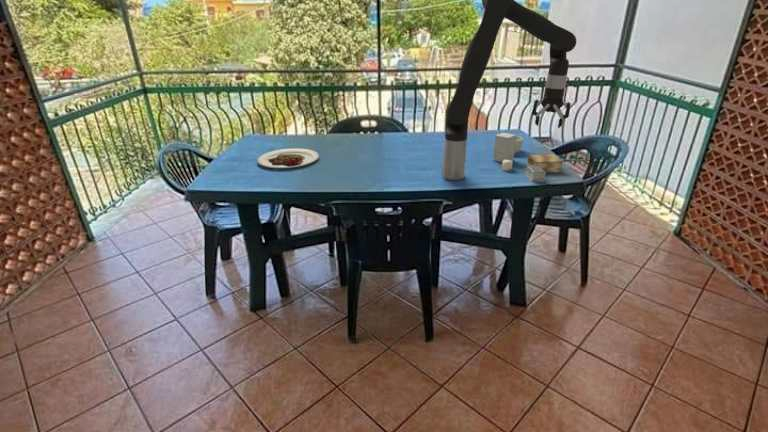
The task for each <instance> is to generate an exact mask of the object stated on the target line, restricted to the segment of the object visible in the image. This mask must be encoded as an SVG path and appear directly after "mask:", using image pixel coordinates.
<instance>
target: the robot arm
mask: <svg viewBox="0 0 768 432" xmlns="http://www.w3.org/2000/svg"><path fill="white" fill-rule="evenodd" d="M481 5H482V7H483V9H484V12H483V15H482V19H481V22H480V24H479V26H478V29H477V30H476V32H475V34H474V35H473V37H472V39H471V40H470V42H469V44H468V47H467V49H466V51H465V54H464V57H463V61H462V64H461V68H460V72H459V75H458V76H459V78H458V82H457V87H456V90H455V93H454V95H453V96H452V100H451V101H449V102H448V104H447V106H446V109H445V111H446V112H445V126H444V127H445V128H444V129H445V132H444V151H443V154H442V171H441V173H442V174H441V175H442V177H443V179H444V180H449V181H460V180H462V179H464V178H465V169H466V157H467V144H468V143H467V142H468V127H469V126H468V123H469V117H470V112H471V109H472V108H471V107H472V104H473V101H474V100H473V99H474V97H475V94H476V91H477V88H478V86H480V83H481V80H482V78H483V75H484V73H485V71H486V69H487V66H488V64H489V63H488V62H489V60H490V58H491V54H492V51H493V49H494V45H495V43H496V40H497V37H498V35H499V34H498V33H499V30H500V29H501V26H502V24H503V22H504V19H506V20H508V21H510V22H513V23H514V24H515V25H517V26H518V27H520V28H521V29H522V30H524V31H525V32H527V33H528V34H530V35H532V36H533V37H535V38H537V39H538V40H540V41H542V42H545V43H548V44H549V67H548V72H547V76H546V81H545V85H544V86H545V87H544V93H543V98H542V100H539V99H535V100H534V101H533V102H534V104H533V107H532V112H531V114H532V115H533V116H534V117H535V121H534V124H535V126H537V127H538V126H539V125H540V119H541V115H542V114H543V113H544V112H546V113H556V114H557V115H558V117H559V119H558V124H557V128H558V129H560V128H561V127H562V126H563V123H564V119H568V118H569V117H570V111H571V102H570V101H567V102H564V96H565V92H566V86H567V78H568V71H569V66H570V63H569V60H568V58H567V53H569V52H571V51H572V50H574V49H575V48H576V45H577V37H576V36H575V34H574V33H573V32H571V31H570V30H568V29H566V28H563V27H562V26H560V25H557V24H555V23H554V22H553V21H551V20H550V19H548V18H546V17H545V16H543V15H541V14H540V13H537V12H536V11H534V10H531V9H530V8H528V7H526V6H524V5H522V4H521V3H519V2H517V1H516V0H481ZM540 104H541V106H542V108H540V110H539V111H537V107H538V106H540ZM563 106H564V108H565V114H563V112H562V111H563V110H561V108H562V107H563Z"/></svg>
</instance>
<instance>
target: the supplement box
mask: <svg viewBox="0 0 768 432" xmlns="http://www.w3.org/2000/svg"><path fill="white" fill-rule="evenodd" d="M516 136H517V134H512V133H507V132H501V133H498V134H496V135H495V136H494V147H493V158H492V160H493V161H494V162H499V163H503V160H512V161H514V157H515V154H514V151H515V142H516Z"/></svg>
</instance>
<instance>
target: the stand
mask: <svg viewBox="0 0 768 432" xmlns="http://www.w3.org/2000/svg"><path fill="white" fill-rule="evenodd" d="M526 161H527V162H526V163H527V164H526V165H539V166H540V167H541V168H542V169H543V170H544V171H545V172H546V173H561V172H562V169H563V167H562V166H563V162H564V161H563V160H562V159H560V157H558V156H557V155H555V154H528V157H527V160H526Z"/></svg>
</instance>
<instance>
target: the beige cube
mask: <svg viewBox="0 0 768 432" xmlns="http://www.w3.org/2000/svg"><path fill="white" fill-rule="evenodd" d="M501 163H502V162H501ZM513 163H514V160H503V163H502V165H501V170H502V171H503V172H511V171H512V170H513Z"/></svg>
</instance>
